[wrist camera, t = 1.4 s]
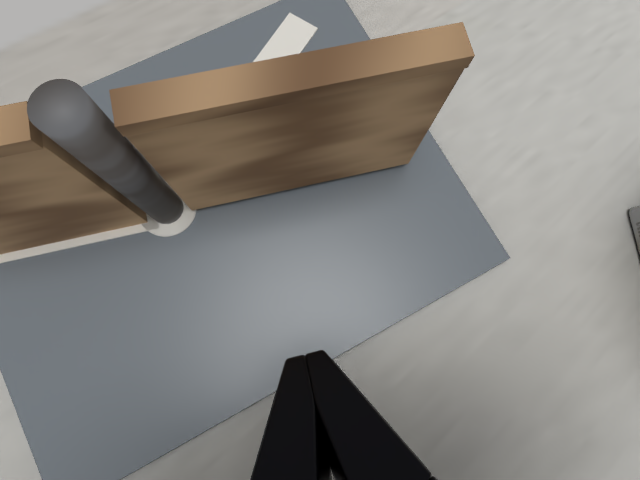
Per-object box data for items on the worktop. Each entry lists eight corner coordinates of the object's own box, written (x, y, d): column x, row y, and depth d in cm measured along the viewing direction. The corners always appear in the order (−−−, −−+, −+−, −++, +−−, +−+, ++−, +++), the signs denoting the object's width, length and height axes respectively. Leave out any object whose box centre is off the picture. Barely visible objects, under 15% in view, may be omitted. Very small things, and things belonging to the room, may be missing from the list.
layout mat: (506, 259, 22) (511, 257, 21) (61, 512, 18) (54, 516, 18) (330, -16, 25) (331, -23, 24) (-74, 160, 22) (-83, 156, 21)
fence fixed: (188, 222, 21) (91, 126, 12) (-18, 268, 21) (-309, 204, 11) (183, 192, 22) (83, 73, 12) (-20, 235, 21) (-305, 146, 11)
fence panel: (192, 212, 21) (114, 126, 12) (187, 189, 21) (109, 89, 13) (408, 165, 22) (474, 55, 13) (402, 143, 22) (462, 22, 13)
